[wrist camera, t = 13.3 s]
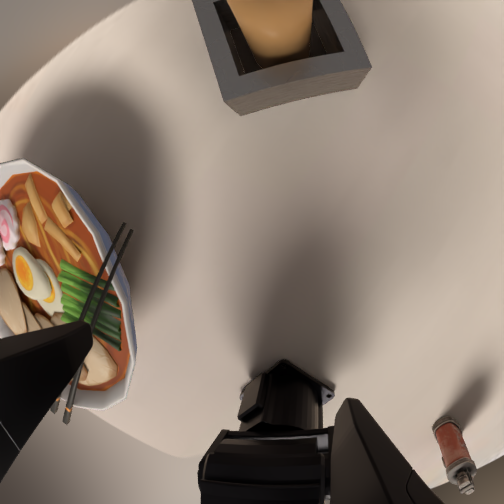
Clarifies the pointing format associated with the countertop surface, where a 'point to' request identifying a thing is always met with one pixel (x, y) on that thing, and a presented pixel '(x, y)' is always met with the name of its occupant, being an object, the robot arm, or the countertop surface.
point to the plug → (275, 29)
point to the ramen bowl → (65, 280)
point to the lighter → (455, 454)
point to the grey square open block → (288, 74)
